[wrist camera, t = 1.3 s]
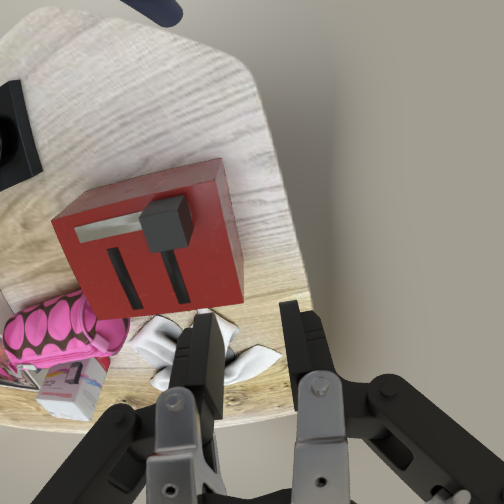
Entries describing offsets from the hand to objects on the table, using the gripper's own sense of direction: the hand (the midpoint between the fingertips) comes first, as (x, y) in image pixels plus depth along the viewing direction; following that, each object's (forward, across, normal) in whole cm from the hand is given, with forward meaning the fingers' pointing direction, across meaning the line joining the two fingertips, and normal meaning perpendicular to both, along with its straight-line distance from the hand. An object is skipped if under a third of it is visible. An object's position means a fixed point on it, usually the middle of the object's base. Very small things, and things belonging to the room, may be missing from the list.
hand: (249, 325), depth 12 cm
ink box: (+22, +31, +23) cm, 45 cm away
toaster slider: (+14, +6, 0) cm, 15 cm away
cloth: (+22, +11, +25) cm, 35 cm away
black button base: (+22, +28, -12) cm, 38 cm away
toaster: (+22, +10, +4) cm, 25 cm away
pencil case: (+22, +29, +14) cm, 39 cm away
